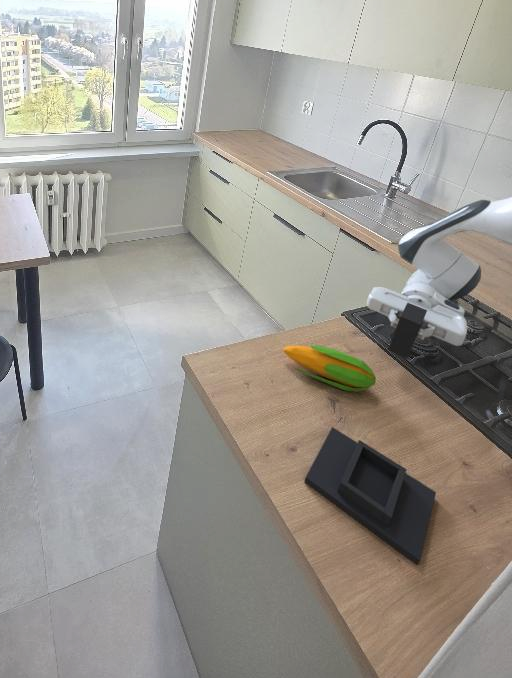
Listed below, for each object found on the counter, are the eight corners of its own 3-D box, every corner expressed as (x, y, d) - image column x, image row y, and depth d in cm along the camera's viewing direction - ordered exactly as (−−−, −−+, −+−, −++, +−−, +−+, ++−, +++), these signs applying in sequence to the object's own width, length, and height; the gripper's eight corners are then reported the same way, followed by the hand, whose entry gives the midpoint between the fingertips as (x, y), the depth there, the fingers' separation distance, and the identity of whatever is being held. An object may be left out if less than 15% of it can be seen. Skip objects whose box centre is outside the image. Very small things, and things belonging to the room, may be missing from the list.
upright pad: (413, 343, 100) (427, 310, 96) (407, 359, 95) (421, 324, 91) (395, 334, 103) (407, 302, 99) (387, 349, 98) (400, 316, 94)
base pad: (433, 497, 75) (440, 483, 73) (417, 565, 65) (425, 551, 64) (330, 431, 86) (335, 418, 84) (303, 482, 76) (308, 468, 75)
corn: (381, 379, 89) (284, 345, 97) (371, 406, 92) (278, 371, 100) (379, 357, 95) (288, 328, 103) (370, 383, 98) (281, 352, 106)
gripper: (378, 275, 111) (362, 298, 101) (473, 312, 98) (465, 342, 89) (371, 295, 113) (355, 319, 104) (463, 333, 101) (455, 364, 91)
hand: (407, 330), depth 96 cm, fingers closed on upright pad, 4 cm apart
